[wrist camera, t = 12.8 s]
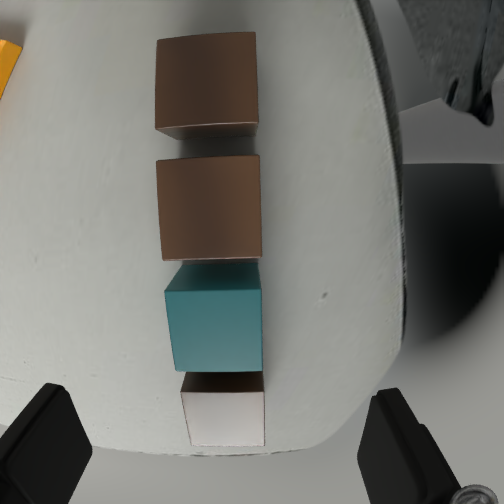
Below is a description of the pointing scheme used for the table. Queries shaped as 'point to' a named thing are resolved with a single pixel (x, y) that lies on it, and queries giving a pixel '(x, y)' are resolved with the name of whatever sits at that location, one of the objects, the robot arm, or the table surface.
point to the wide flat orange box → (7, 61)
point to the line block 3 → (224, 408)
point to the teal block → (216, 318)
